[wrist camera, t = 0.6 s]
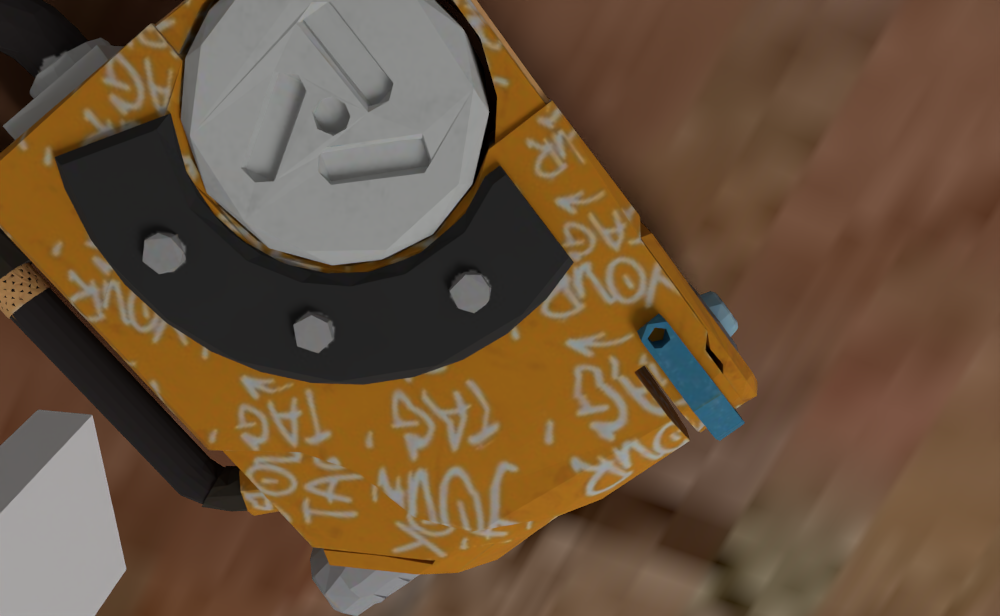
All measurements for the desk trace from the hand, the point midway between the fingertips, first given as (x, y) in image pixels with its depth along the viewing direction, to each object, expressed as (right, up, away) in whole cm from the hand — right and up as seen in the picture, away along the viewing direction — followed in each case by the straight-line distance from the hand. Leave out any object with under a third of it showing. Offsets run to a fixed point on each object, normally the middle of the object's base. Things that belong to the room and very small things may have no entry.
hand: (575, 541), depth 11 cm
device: (-8, +6, +25) cm, 27 cm away
